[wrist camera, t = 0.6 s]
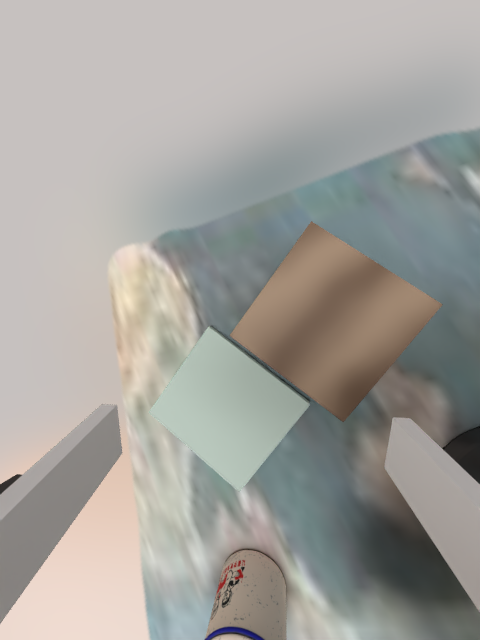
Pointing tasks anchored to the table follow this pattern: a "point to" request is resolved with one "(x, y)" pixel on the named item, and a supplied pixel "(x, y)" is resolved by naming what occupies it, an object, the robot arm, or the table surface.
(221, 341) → the sage mat
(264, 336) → the walnut lid
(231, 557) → the teacup with lid
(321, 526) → the table surface
